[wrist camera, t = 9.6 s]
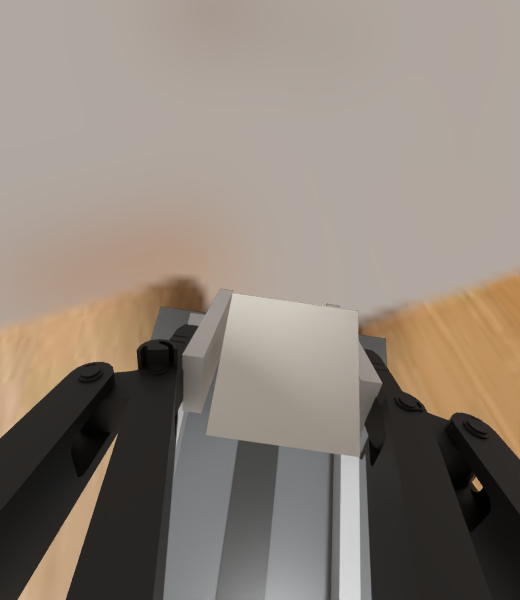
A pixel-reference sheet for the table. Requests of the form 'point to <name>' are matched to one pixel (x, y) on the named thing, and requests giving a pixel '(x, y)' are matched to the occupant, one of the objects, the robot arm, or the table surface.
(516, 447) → the table surface
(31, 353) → the table surface
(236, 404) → the switch slider
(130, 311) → the table surface
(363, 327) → the table surface
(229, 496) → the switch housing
